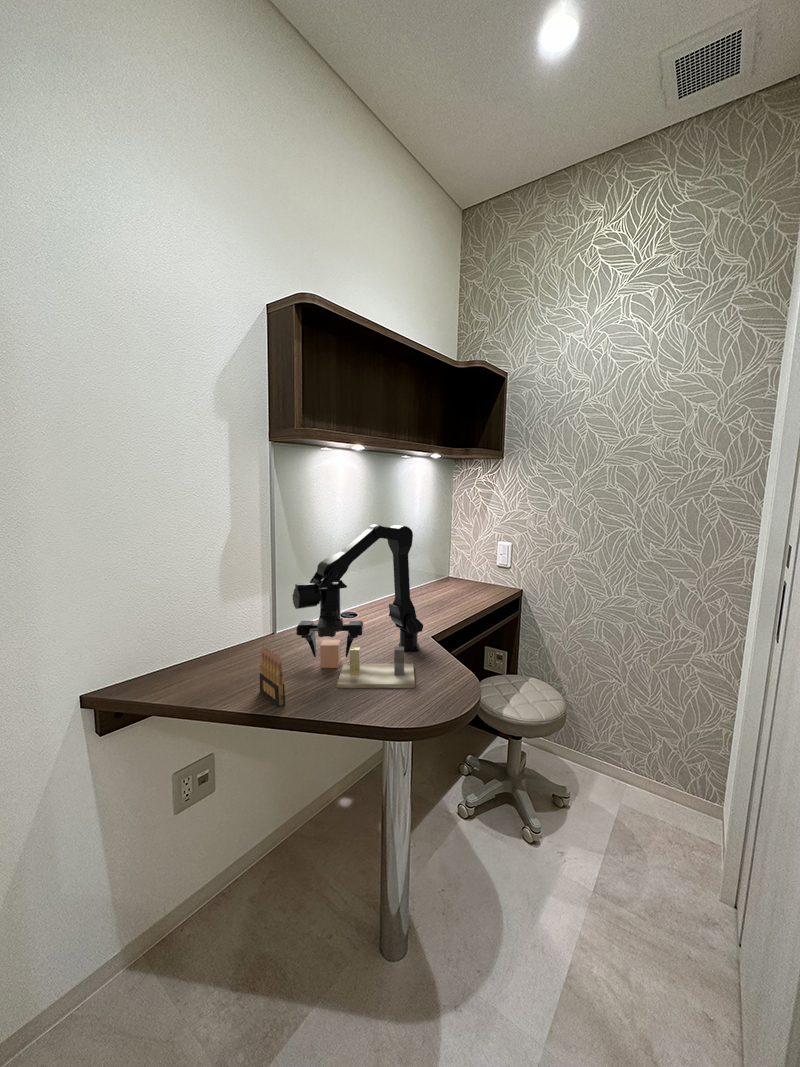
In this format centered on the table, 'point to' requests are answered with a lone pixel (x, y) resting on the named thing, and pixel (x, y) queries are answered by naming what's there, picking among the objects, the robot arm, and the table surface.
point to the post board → (380, 674)
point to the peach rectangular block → (330, 654)
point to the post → (354, 660)
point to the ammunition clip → (272, 678)
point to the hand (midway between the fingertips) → (330, 656)
